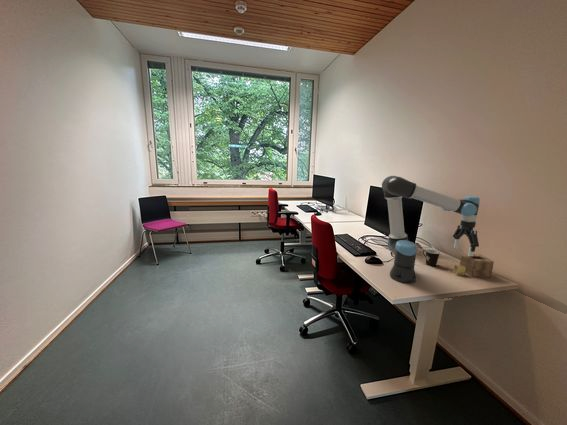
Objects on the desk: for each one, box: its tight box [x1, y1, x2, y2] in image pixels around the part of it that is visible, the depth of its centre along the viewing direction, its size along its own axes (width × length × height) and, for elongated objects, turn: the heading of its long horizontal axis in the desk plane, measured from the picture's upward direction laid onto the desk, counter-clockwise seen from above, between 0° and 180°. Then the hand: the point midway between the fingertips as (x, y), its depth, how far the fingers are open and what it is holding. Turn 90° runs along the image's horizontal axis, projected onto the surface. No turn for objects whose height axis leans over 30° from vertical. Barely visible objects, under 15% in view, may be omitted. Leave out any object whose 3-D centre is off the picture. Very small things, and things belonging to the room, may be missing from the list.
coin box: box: [459, 253, 495, 278], centre depth 156 cm, size 12×12×11 cm
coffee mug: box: [422, 249, 440, 267], centre depth 170 cm, size 12×9×10 cm
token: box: [453, 264, 466, 276], centre depth 154 cm, size 5×3×6 cm, turn 86°
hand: (463, 252), depth 153 cm, fingers open, 13 cm apart
